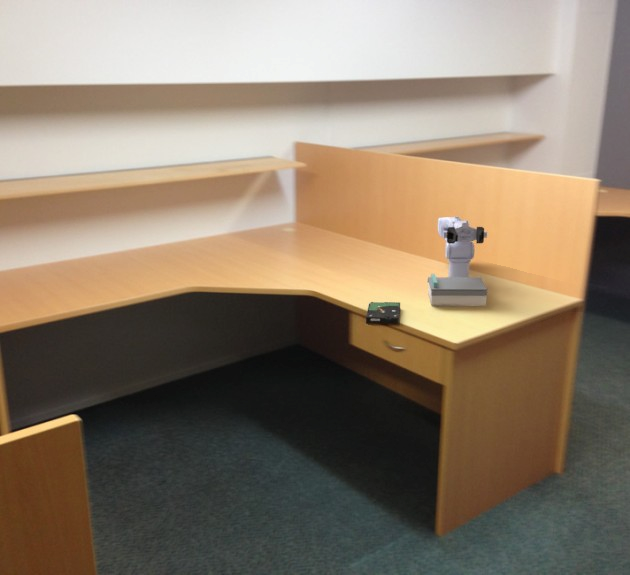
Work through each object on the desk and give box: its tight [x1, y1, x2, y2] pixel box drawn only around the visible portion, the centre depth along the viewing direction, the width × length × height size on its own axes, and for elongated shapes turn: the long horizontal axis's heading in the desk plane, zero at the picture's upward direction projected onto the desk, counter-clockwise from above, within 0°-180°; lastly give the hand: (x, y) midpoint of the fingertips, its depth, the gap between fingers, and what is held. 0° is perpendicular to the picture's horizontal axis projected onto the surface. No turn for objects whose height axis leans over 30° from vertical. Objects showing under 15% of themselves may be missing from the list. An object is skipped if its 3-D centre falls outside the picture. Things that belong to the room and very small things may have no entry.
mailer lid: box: [427, 273, 489, 297], centre depth 234 cm, size 15×18×4 cm
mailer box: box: [427, 280, 487, 307], centre depth 235 cm, size 13×18×5 cm
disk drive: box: [365, 301, 401, 325], centre depth 222 cm, size 10×3×15 cm
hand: (468, 238), depth 227 cm, fingers open, 7 cm apart
